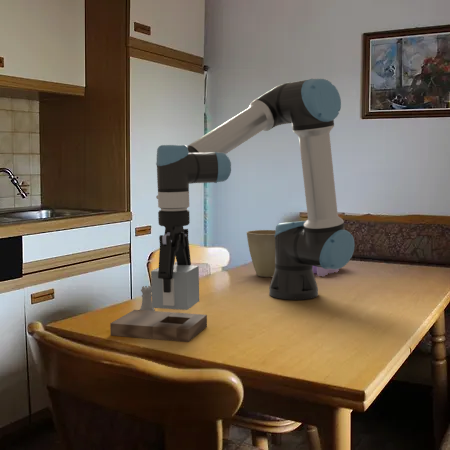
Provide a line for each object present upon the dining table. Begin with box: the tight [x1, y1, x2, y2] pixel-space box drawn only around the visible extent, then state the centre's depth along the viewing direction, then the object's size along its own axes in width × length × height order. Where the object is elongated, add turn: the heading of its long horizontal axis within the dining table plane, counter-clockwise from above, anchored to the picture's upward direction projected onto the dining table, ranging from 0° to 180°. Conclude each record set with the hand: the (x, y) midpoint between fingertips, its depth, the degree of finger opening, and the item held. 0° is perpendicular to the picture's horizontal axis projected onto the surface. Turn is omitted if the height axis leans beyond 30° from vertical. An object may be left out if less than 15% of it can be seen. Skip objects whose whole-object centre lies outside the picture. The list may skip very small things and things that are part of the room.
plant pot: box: [246, 229, 276, 278], centre depth 227 cm, size 15×15×16 cm
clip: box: [313, 266, 340, 277], centre depth 234 cm, size 20×12×7 cm, turn 156°
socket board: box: [109, 309, 208, 343], centre depth 155 cm, size 20×14×3 cm
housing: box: [150, 264, 200, 311], centre depth 153 cm, size 9×9×9 cm
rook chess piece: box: [138, 285, 156, 311], centre depth 169 cm, size 4×4×8 cm
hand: (176, 300), depth 153 cm, fingers closed on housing, 9 cm apart
